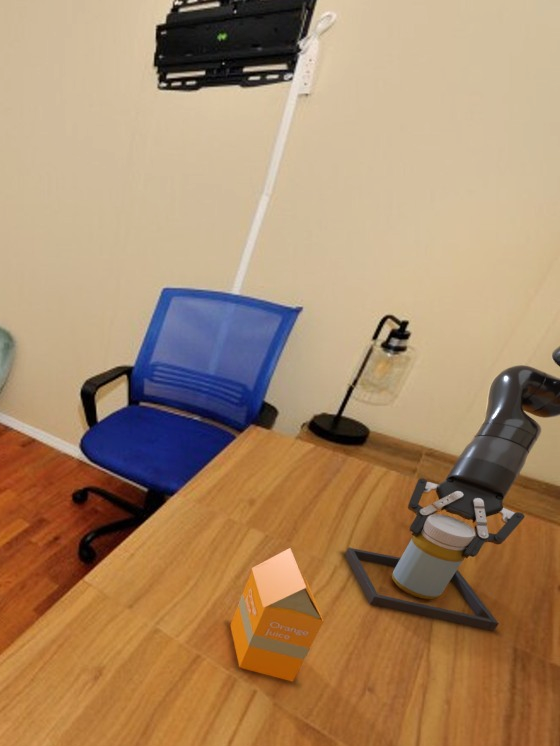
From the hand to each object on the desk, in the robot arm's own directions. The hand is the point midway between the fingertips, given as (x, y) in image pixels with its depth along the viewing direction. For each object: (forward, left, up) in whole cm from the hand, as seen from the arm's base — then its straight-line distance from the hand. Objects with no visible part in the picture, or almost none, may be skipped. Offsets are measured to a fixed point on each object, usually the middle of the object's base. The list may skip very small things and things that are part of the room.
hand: (439, 545), depth 90 cm
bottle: (-1, -1, -12) cm, 12 cm away
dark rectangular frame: (-1, -1, -13) cm, 13 cm away
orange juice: (+29, +24, -13) cm, 40 cm away
